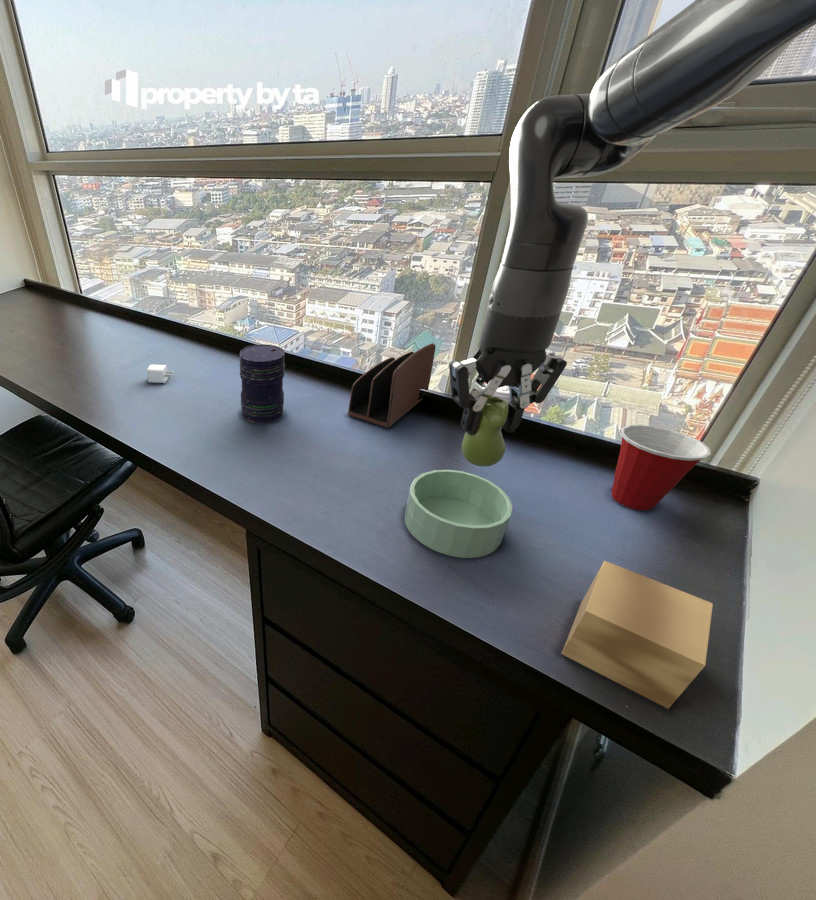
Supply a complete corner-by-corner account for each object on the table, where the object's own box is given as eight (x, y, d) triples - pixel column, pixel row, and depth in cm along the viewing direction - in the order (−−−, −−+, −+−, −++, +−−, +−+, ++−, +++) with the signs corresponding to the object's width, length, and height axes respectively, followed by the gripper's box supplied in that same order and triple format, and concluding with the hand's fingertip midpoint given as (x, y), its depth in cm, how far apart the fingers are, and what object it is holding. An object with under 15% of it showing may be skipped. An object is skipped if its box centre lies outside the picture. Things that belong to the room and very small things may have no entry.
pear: (460, 449, 71) (475, 387, 66) (500, 456, 69) (520, 393, 64) (456, 468, 67) (472, 405, 62) (499, 477, 65) (519, 412, 59)
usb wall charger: (153, 377, 132) (151, 363, 130) (177, 378, 131) (175, 364, 129) (148, 383, 129) (146, 369, 127) (173, 384, 128) (171, 370, 125)
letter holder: (427, 396, 114) (439, 339, 107) (388, 429, 103) (398, 368, 95) (388, 385, 120) (396, 330, 113) (346, 415, 108) (353, 357, 101)
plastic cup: (682, 499, 79) (719, 437, 73) (665, 530, 74) (704, 466, 67) (604, 472, 86) (632, 413, 80) (583, 499, 81) (612, 438, 74)
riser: (679, 647, 58) (713, 603, 53) (668, 709, 52) (705, 665, 47) (581, 603, 64) (604, 560, 59) (561, 654, 58) (585, 610, 53)
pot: (523, 542, 73) (535, 512, 70) (446, 569, 70) (455, 538, 66) (455, 489, 84) (463, 462, 81) (386, 510, 81) (391, 481, 78)
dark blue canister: (253, 427, 106) (252, 365, 98) (233, 409, 114) (231, 349, 106) (291, 416, 109) (293, 355, 101) (270, 399, 117) (270, 341, 109)
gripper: (479, 318, 53) (447, 449, 62) (608, 310, 53) (557, 441, 62) (448, 300, 59) (424, 421, 68) (564, 292, 59) (524, 414, 68)
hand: (488, 430), depth 65 cm, fingers closed on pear, 4 cm apart
